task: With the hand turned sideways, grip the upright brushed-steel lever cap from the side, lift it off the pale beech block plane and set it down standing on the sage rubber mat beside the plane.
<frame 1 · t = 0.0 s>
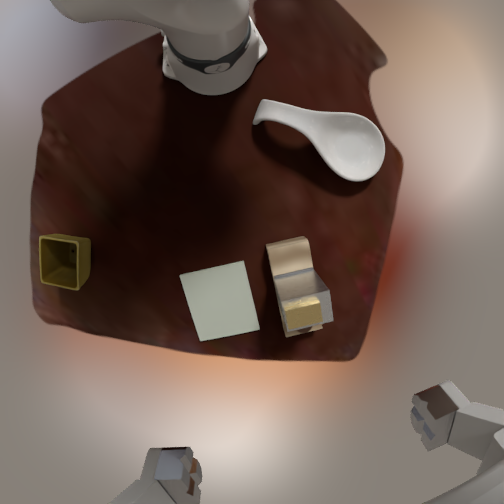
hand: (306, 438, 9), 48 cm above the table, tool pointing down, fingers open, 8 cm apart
flower pot: (80, 250, 56), on the table
spoon rest: (318, 136, 53), on the table
block plane: (293, 284, 59), on the table
lever cap: (296, 287, 54), point 5 cm above the table, touching block plane
cap mat: (220, 302, 59), on the table
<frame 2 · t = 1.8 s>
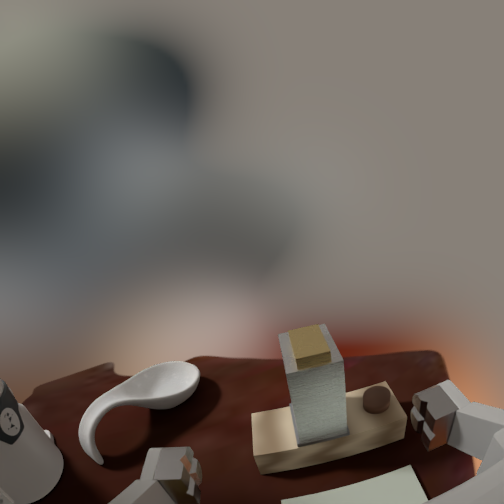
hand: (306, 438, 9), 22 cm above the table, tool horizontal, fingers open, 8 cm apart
spoon rest: (148, 418, 42), on the table
block plane: (328, 439, 32), on the table
lever cap: (317, 417, 31), point 5 cm above the table, touching block plane
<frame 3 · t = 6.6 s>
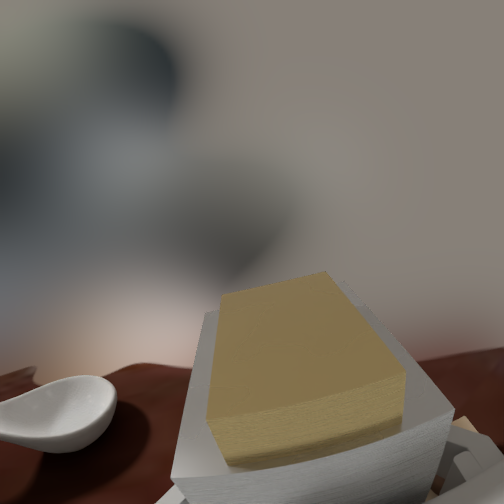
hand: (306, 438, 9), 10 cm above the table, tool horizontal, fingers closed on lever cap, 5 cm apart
spoon rest: (39, 460, 20), on the table
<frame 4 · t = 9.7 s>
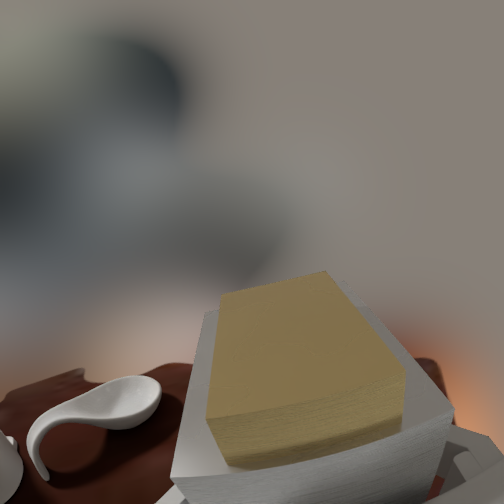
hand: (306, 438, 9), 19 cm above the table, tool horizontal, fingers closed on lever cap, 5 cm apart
spoon rest: (103, 437, 35), on the table
when the fingers open (8 cm above the table, at t = 12.6 s): lever cap drops 1 cm, resting on cap mat.
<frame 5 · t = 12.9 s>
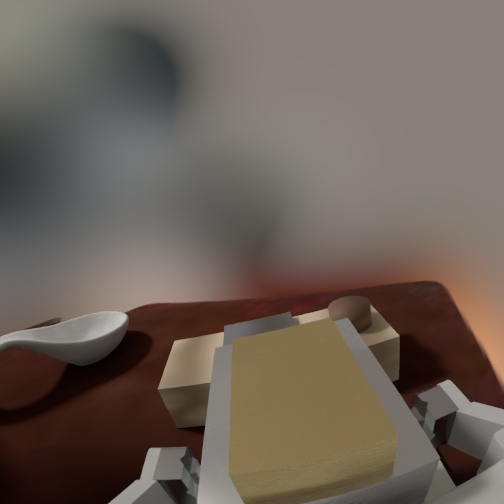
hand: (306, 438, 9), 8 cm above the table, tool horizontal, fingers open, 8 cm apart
spoon rest: (61, 375, 32), on the table
block plane: (283, 383, 24), on the table
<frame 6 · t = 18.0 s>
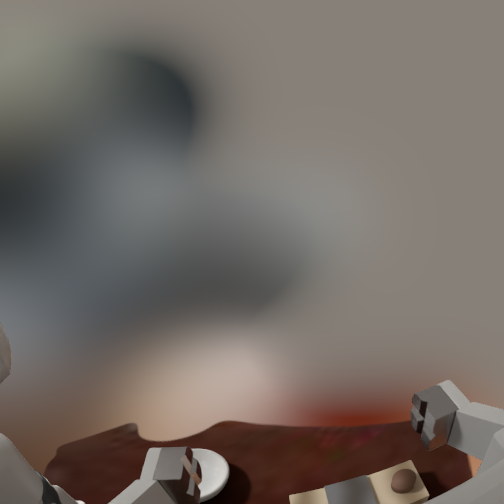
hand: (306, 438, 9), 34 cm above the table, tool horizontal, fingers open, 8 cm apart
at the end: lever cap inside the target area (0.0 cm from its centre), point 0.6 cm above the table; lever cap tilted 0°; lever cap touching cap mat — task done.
